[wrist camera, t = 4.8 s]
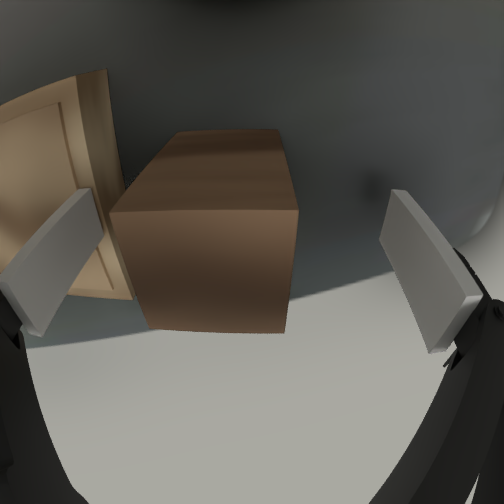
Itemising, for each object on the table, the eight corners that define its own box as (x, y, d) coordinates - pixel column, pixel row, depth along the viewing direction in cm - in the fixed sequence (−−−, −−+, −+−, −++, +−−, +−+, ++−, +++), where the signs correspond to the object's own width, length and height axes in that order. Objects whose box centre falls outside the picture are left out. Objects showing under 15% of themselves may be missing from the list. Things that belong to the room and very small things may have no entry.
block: (177, 131, 13) (109, 213, 7) (278, 129, 13) (298, 210, 7) (187, 215, 17) (149, 328, 10) (274, 215, 16) (284, 333, 10)
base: (-36, 126, 11) (-65, 144, 9) (106, 68, 11) (72, 76, 8) (13, 262, 19) (-5, 287, 17) (145, 267, 19) (131, 303, 16)
